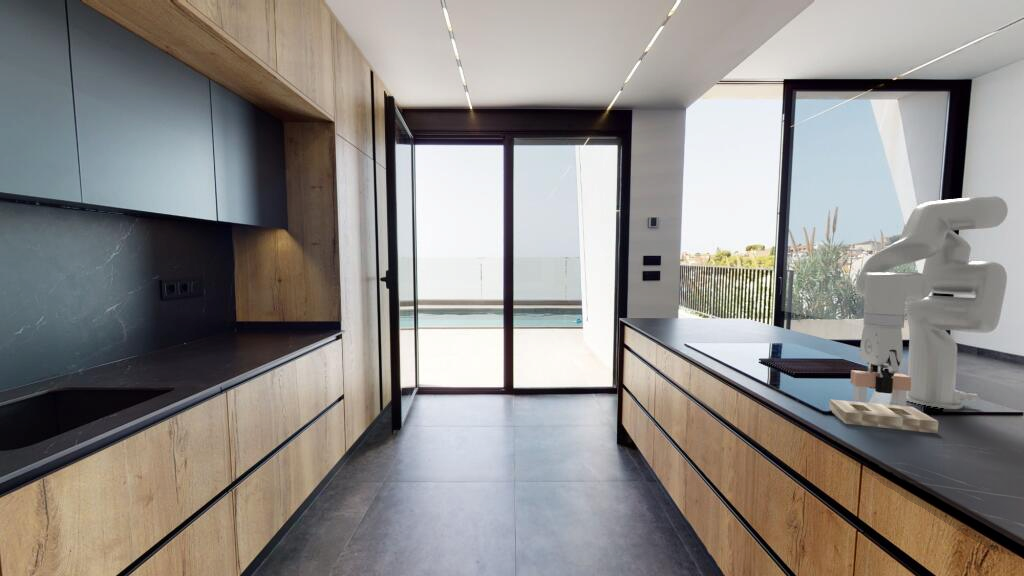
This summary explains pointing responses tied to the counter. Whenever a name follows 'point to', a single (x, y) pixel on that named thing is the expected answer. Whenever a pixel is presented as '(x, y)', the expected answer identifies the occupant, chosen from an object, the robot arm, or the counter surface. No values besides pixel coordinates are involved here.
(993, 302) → the robot arm
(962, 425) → the counter surface
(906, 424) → the beige flat slotted block
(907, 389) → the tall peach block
